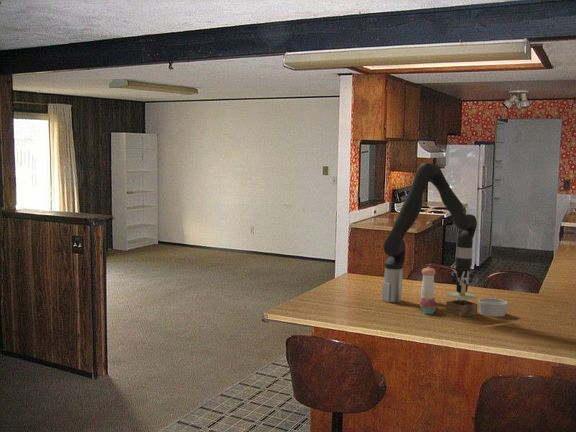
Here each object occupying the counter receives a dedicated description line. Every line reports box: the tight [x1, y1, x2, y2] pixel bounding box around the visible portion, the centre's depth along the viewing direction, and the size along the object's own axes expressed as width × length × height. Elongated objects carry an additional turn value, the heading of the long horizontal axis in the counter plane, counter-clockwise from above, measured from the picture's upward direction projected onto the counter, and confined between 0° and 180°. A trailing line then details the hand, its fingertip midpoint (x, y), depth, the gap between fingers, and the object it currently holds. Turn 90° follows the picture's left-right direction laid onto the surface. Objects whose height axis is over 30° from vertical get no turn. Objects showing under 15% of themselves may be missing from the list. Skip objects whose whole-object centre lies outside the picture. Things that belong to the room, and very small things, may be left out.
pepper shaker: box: [419, 266, 437, 304], centre depth 311 cm, size 7×7×19 cm
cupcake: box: [419, 291, 439, 315], centre depth 291 cm, size 9×8×12 cm
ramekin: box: [478, 297, 509, 318], centre depth 292 cm, size 13×13×7 cm
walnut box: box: [445, 299, 478, 318], centre depth 291 cm, size 10×10×6 cm
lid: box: [446, 282, 478, 301], centre depth 290 cm, size 10×10×6 cm
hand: (461, 292), depth 290 cm, fingers closed on lid, 3 cm apart
